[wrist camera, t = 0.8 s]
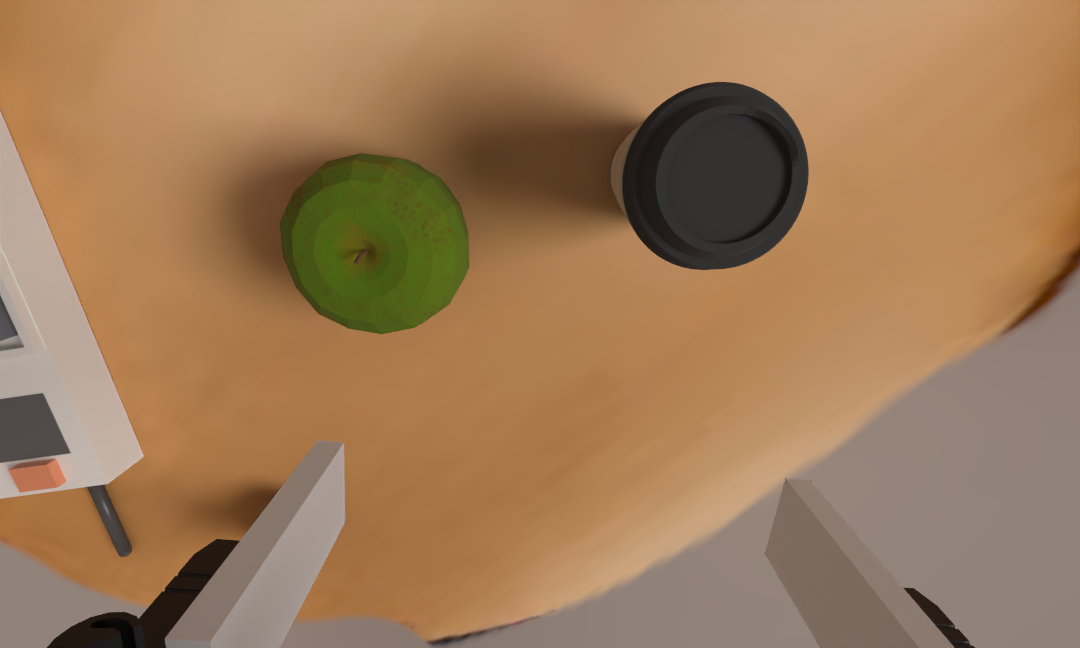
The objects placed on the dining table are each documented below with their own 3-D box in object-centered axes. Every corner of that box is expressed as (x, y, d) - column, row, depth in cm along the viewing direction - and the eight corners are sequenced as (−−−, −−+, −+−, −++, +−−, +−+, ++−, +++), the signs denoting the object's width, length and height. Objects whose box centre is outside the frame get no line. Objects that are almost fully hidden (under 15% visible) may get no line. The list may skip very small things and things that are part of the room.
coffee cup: (651, 261, 40) (717, 317, 26) (568, 175, 38) (589, 183, 24) (744, 174, 38) (869, 181, 24) (662, 78, 37) (745, 24, 22)
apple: (506, 247, 40) (496, 277, 29) (399, 331, 42) (354, 387, 31) (407, 122, 37) (357, 107, 27) (297, 217, 39) (212, 238, 29)
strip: (-143, 91, 36) (-241, 81, 32) (-17, 70, 36) (-97, 57, 31) (83, 556, 48) (35, 598, 43) (180, 544, 47) (142, 585, 43)
